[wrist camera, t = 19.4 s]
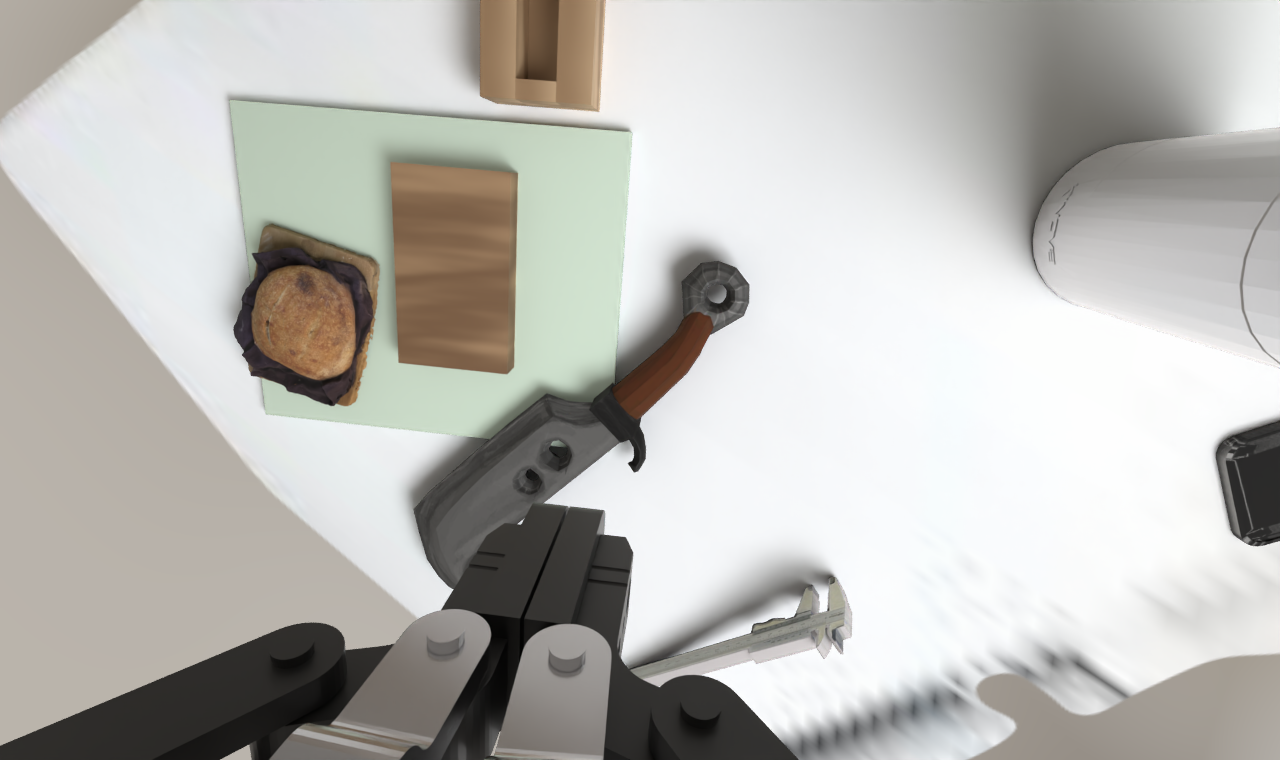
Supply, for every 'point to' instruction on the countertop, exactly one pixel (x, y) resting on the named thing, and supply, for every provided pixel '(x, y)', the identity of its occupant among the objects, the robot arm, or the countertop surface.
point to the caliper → (766, 639)
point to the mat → (363, 223)
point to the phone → (1252, 484)
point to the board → (455, 266)
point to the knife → (566, 435)
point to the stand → (542, 52)
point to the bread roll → (308, 316)
